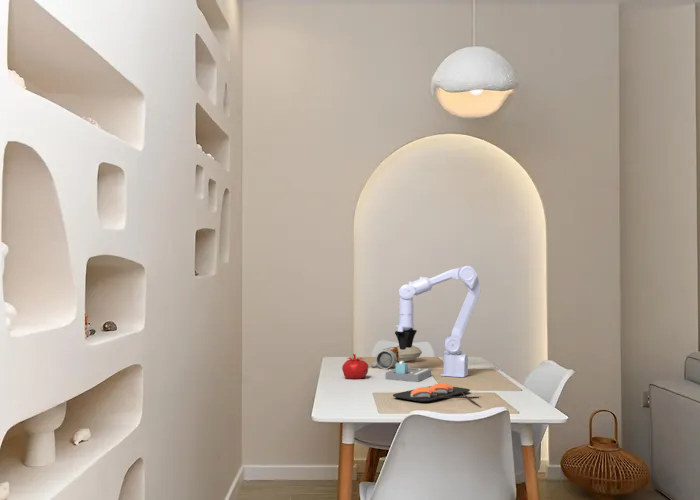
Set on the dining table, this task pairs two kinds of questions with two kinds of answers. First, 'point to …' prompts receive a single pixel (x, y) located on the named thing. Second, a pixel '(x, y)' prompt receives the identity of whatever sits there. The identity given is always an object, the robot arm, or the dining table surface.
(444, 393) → the sushi plate
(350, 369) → the red round piece
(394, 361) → the ceramic mug
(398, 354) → the nautilus
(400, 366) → the plug
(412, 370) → the panel
